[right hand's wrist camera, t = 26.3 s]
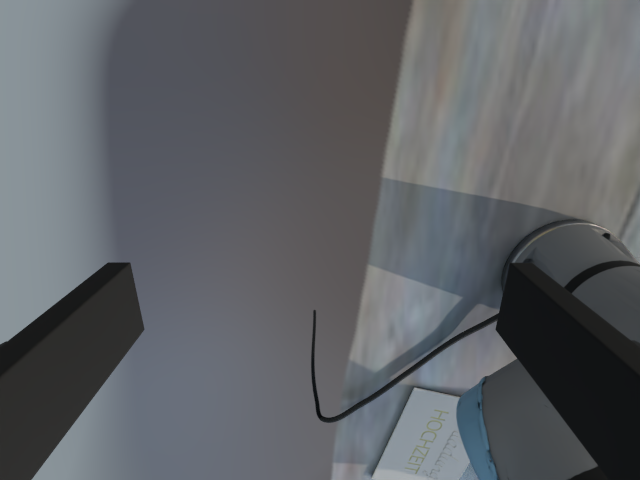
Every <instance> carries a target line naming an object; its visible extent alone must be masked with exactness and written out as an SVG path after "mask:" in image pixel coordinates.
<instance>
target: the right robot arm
mask: <svg viewBox="0 0 640 480" xmlns="http://www.w3.org/2000/svg"><path fill="white" fill-rule="evenodd" d="M502 289H503V297H502V302H501V307H500V311H499V313H498V314H496V315H495V316H493V317H491V318H489V319H487V320H485V321H483V322H482V323H480V324H478V325H476V326H474V327H472V328H470V329H468V330H466V331H464V332H462V333H460V334H459V335H457V336H455V337H453V338H452V339H450V340H449V341H447V342H446V343H444V344H443V345H441V346H440V347H438V348H437V349H435V350H434V351H433V352H431V353H430V354H429V355H427V356H426V357H424V358H423V359H422V360H420V361H419V362H418V363H416V364H415V365H414V366H412V367H411V368H409V369H408V370H407V371H405V372H404V373H402V374H401V375H399V376H398V377H397V378H395V379H394V380H393V381H391V382H390V383H388V384H387V385H386V386H384V387H383V388H381V389H380V390H379V391H377V392H376V393H374V394H373V395H371V396H369V397H368V398H366V399H364V400H363V401H361V402H359V403H357V404H356V405H354V406H353V407H351V408H350V409H348V410H347V411H345V412H343V413H342V414H340V415H338V416H335V417H332V418H326V417H323V416H322V415H321V412H320V405H319V399H318V394H317V388H316V380H315V334H316V310H314V311H313V334H312V350H311V376H312V386H313V394H314V399H315V407H316V414H317V416H318V418H319V419H320V420H321V421H323V422H327V423H331V422H336V421H339V420H341V419H343V418H345V417H346V416H348V415H349V414H351V413H353V412H354V411H356V410H357V409H359V408H360V407H362V406H364V405H366V404H367V403H369V402H371V401H372V400H374V399H376V398H377V397H379V396H380V395H382V394H383V393H385V392H386V391H387V390H389V389H390V388H392V387H393V386H394V385H396V384H397V383H398V382H400V381H401V380H403V379H404V378H405V377H407V376H408V375H410V374H411V373H413V372H414V371H416V370H417V369H418V368H420V367H421V366H422V365H424V364H425V363H427V362H428V361H429V360H431V359H432V358H433V357H435V356H436V355H437V354H439V353H440V352H442V351H443V350H445V349H446V348H448V347H449V346H451V345H452V344H454V343H456V342H457V341H459V340H461V339H462V338H464V337H466V336H468V335H470V334H472V333H474V332H476V331H478V330H480V329H482V328H484V327H486V326H488V325H490V324H491V323H493V322H495V321H497V320H498V321H497V325H496V331H497V332H498V333H499V335H500V336H501V337H502V339H503V340H504V341H505V343H506V344H507V345H508V347H509V348H510V349H511V351H512V352H513V353H514V355H515V356H516V357H517V359H516V360H515V361H513V362H511V363H510V364H508V365H506V366H505V367H503V368H501V369H500V370H498V371H496V372H495V373H493V374H491V375H490V376H485V377H483V378H482V379H481V381H480V382H479V383H478V384H477V385H476V386H474V387H473V388H471V389H470V390H468V391H467V392H466V393H464V394H463V395H462V396H461V397H460V399H459V400H458V403H457V407H456V411H457V412H456V419H457V425H458V429H459V433H460V437H461V440H462V443H463V445H464V448H465V451H466V453H467V456H468V458H469V460H470V462H471V465H472V467H473V469H474V471H475V473H476V475H477V477H478V479H479V480H640V264H639V263H638V261H637V260H636V259H635V258H634V257H633V255H632V254H631V253H630V252H629V250H628V249H627V248H626V247H625V246H624V244H623V243H622V242H621V241H620V240H619V239H618V238H617V237H616V236H615V235H614V234H613V233H611V232H610V231H608V230H606V229H605V228H603V227H600V226H598V225H596V224H594V223H591V222H588V221H583V220H564V221H558V222H554V223H551V224H548V225H546V226H544V227H541V228H539V229H538V230H536V231H534V232H533V233H531V234H530V235H528V236H527V237H526V238H525V239H523V240H522V241H521V242H520V243H519V244H518V245H517V247H516V248H515V249H514V250H513V252H512V253H511V255H510V256H509V258H508V260H507V262H506V264H505V267H504V271H503V275H502ZM143 331H144V325H143V321H142V316H141V311H140V307H139V302H138V297H137V293H136V288H135V283H134V278H133V274H132V269H131V264H130V263H107V264H106V265H104V266H103V267H102V268H101V269H99V270H98V271H97V272H95V273H94V274H93V275H92V276H90V277H89V278H88V279H87V280H85V281H84V282H83V283H82V284H80V285H79V286H78V287H76V288H75V289H74V290H73V291H71V292H70V293H69V294H68V295H66V296H65V297H64V298H62V299H61V300H60V301H59V302H57V303H56V304H55V305H53V306H52V307H51V308H50V309H48V310H47V311H46V312H45V313H43V314H42V315H41V316H39V317H38V318H37V319H36V320H34V321H33V322H32V323H31V324H29V325H28V326H27V327H26V328H24V329H23V330H22V331H20V332H19V333H18V334H17V335H15V336H14V337H13V338H11V339H10V340H9V341H8V342H4V343H2V344H0V480H31V479H32V478H33V477H34V475H35V474H36V473H37V472H38V470H39V469H40V468H41V466H42V465H43V463H44V462H45V461H46V460H47V458H48V457H49V456H50V454H51V453H52V452H53V450H54V449H55V448H56V446H57V445H58V444H59V442H60V441H61V440H62V438H63V437H64V436H65V434H66V433H67V432H68V430H69V429H70V428H71V426H72V425H73V424H74V422H75V421H76V420H77V418H78V417H79V416H80V414H81V413H82V412H83V410H84V409H85V408H86V406H87V405H88V404H89V402H90V401H91V400H92V398H93V397H94V396H95V394H96V393H97V392H98V390H99V389H100V388H101V386H102V385H103V384H104V383H105V381H106V380H107V379H108V377H109V376H110V375H111V373H112V372H113V371H114V369H115V368H116V367H117V365H118V364H119V363H120V361H121V360H122V359H123V357H124V356H125V355H126V353H127V352H128V351H129V349H130V348H131V347H132V345H133V344H134V343H135V341H136V340H137V339H138V337H139V336H140V335H141V333H142V332H143Z"/></svg>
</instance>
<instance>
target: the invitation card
mask: <svg viewBox="0 0 640 480" xmlns="http://www.w3.org/2000/svg"><path fill="white" fill-rule="evenodd" d="M459 399H460V397H458V396H453V395H448V394H444V393H439V392H435V391H430V390H425V389H421V388H416V387H414V388H413V390H412V392H411V395H410V397H409V399H408V401H407V403H406V405H405V407H404V409H403V412H402V414H401V416H400V418H399V420H398V422H397V424H396V426H395V429H394V431H393V433H392V435H391V437H390V439H389V441H388V443H387V446H386V448H385V450H384V452H383V454H382V456H381V458H380V461H379V463H378V465H377V467H376V469H375V471H374V473H373V475H372V478H371V479H374V480H459V479H460V478H461V476H462V474H463V473H464V471H465V469H466V468H467V466H468V464H469V463H470V460H469V458H468V456H467V453H466V451H465V448H464V445H463V443H462V440H461V437H460V433H459V429H458V425H457V419H456V412H457V411H456V407H457V403H458V400H459Z"/></svg>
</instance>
